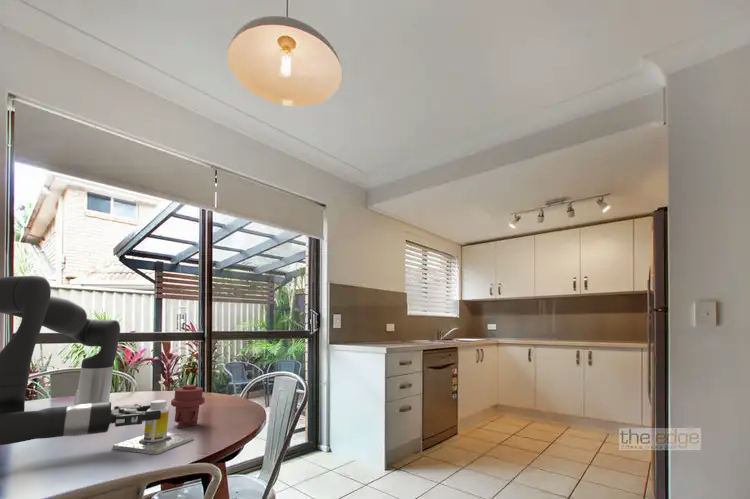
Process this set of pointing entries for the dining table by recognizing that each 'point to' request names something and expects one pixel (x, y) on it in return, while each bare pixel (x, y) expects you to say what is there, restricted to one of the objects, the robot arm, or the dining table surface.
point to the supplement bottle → (157, 423)
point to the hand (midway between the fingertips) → (158, 411)
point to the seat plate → (153, 444)
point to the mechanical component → (187, 405)
